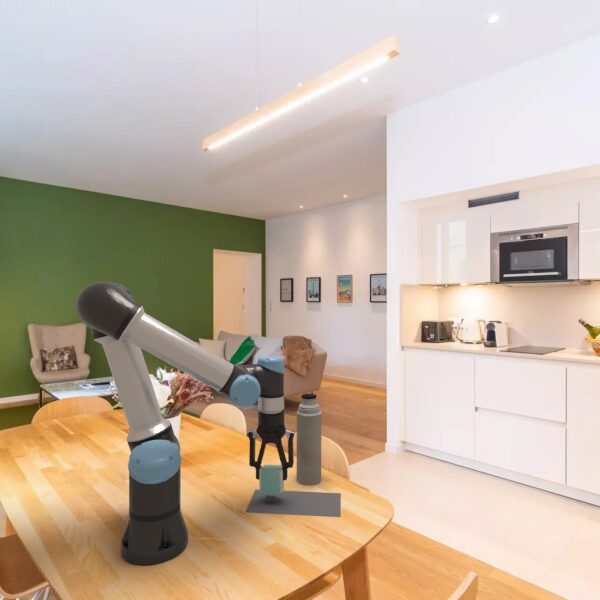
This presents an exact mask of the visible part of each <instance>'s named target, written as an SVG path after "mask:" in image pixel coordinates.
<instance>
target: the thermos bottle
mask: <svg viewBox="0 0 600 600" xmlns="http://www.w3.org/2000/svg"><path fill="white" fill-rule="evenodd" d="M320 408H321V407H320V404H318V403H317V394H315V393H302V394H301V403H300V404H299V405H298V408H297V409H298V410H297V411H296V483H297V484H299V485H302V486H306V487H307V486H311V487H312V486H316V485H319V484H320V483H321V482H322V411H321V410H320Z"/></svg>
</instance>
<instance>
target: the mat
mask: <svg viewBox="0 0 600 600" xmlns="http://www.w3.org/2000/svg"><path fill="white" fill-rule="evenodd" d="M341 495H342V494H341V492H339V493H338V492H321V491H319V492H318V491H300V490H299V491H298V490H297V491H295V490H283V493H280V496H276V502H275V504H274V503H266V495H261V492H260V489H257V488H256V489H254V491H253V494H252V496H251V499H250V501H249V503H248V506H247V508H246V509H245V513H249V514H251V513H252V514H269V515H270V514H271V515H290V516H307V517H326V518H327V517H329V518H341V517H342V515H341V513H342V512H341V511H342V510H341V506H342V505H341V504H342V502H341V500H342V498H341Z"/></svg>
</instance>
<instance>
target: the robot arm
mask: <svg viewBox="0 0 600 600" xmlns="http://www.w3.org/2000/svg"><path fill="white" fill-rule="evenodd" d="M75 306H76V307H75V308H76V313H77V315H78V317H79V319H80V320H81V321H82V322H83V324H85V325H86V326H88V327H89V329H90V331H91V336H92V338H93V341H95V342H97V343H99V344H101V345H102V347H103V351H104V354H105V357H106V359H107V364H108V365H109V369H110V372H111V375H112V379H113V381H114V384H115V388H116V390H117V394H118V397H119V400H120V404H121V406H122V410H123V412H124V414H125V419H126V421H127V424H128V427H129V433H128V435H127V436H126V442H127V445H128V448H129V451H130V454H129V458H128V463H127V469H128V485H129V486H128V503H129V504H128V516H129V517H128V519H127V523H126V524H125V525H126V526H125V529H124V531H123V535H122V538H121V541H120V554H121V557H122V558H123V559H124V560H125V561H126V562H128V563H130V564H132V565H133V564H135V565H142V566H145V565H155V564H159V563H164V562H166V561H169V560H171V559H173V558H175V557H176V556H178V555H179V554H181V553H182V552H183V551H184V550H185V549H186V547H188V546H187V545H188V543H189V531H188V528H187V527H188V526H187V525H186V524H187V523H186V521H185V519H184V516H183V512H182V510H181V508H182V507H181V498H182V497H181V496H182V495H181V490H182V489H181V472H182V471H181V469H182V468H181V466H182V454H181V444H180V442H179V440H178V437H177V436H176V434H175V432H174V429H173V426H172V422H171V421H170V420H169V419H166V418H164V417H163V414H162V411H161V408H160V405H159V401H158V398H157V395H156V392H155V388H154V386H153V382H152V380H151V376H150V373H149V370H148V367H147V364H146V361H145V357H144V354H143V352H142V351H145V352H147V353H149V354H151V355H152V356H155V357H156V358H158V359H159V360H162V361H163V362H165V363H167V364H169V365H170V366H173V367H174V368H176V369H178V370H179V371H181V372H183V373H185V374H186V375H188V376H190V377H192V378H193V379H195V380H198V381H199V382H201V383H203V384H205V385H207V386H208V387H210V388H212V389H213V390H215V391H216V392H217V393H218V394H222V395H224V396H226V397H227V398H229V399H231V401H232V403H234V404H236V405H237V406H238V407H246V408H247V407H251V406H253V405H254V404H256V403H257V410H258V412H257V414H258V415H257V416H258V417H257V420H258V421H257V428H256V429H250V430H249V432H248V433H247V437H248V440H249V456H248V457H249V461H248V462H249V463H248V465H249V467H250V468H251V467H253V468H255V479H256V480H259V490H260V492H261V471H262V469H263V467H264V465H262V463H263V459H264V455H265V452H266V451H265V450H266V447H267V444H275V447H276V450H277V453H278V457H279V461H280V465H282V466H281V468H280V493H283V491H285V481H287V480H288V479H287V478H288V469H291V468H293V466H294V463H295V461H294V437H295V435H296V432H295V430H291V431H290V430H288V429H287V428H286V426H285V411H284V409H285V369H284V368H285V366H284V365H285V363H284V358H282V357H281V356H278V355H265V356H259V357H258V358H257V361H256V363H255V364H239V365H237V364H236V365H234V364H233V363H231V362H230V361H228V360H227V359H224V358H222V357H221V356H219V355H218V354H216V353H214V352H212V351H210V350H209V349H207V348H206V347H203V346H202V345H201V344H199V343H197V342H196V341H194V340H192V339H191V338H189V337H187V336H185V335H183V334H182V333H180V332H178V331H176V330H175V329H173V328H172V327H170V326H168V325H166V324H165V323H163V322H161V321H160V320H158V319H157V318H154V317H153V316H152V315H149V314H148V313H146V312H145V309H144V306H143V305H141V304H139V303H137V302H136V301H135V299H134V296H133V294H132V293H131V292H130V291H129V290H128V289H127V287H125V286H123V285H122V284H119V283H116V282H110V281H109V282H108V281H97V282H93V283H90V284H88V285H87V286H86V287H84V288H83V289H82V290H81V291H80V292H79V294H78V296H77V299H76V305H75ZM257 435H258V436H259V438H260V439H261V440H262V441H261V444H260V448H259V453H258V456H257V459H256V438H257ZM284 436H286V439H287V451H288V452H287V453H288V454H287V455H288V456H287V457H288V458H287V457H286V454H285V451H284V447H283V442H282V438H283V437H284ZM287 459H288V460H287Z"/></svg>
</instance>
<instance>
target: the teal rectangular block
mask: <svg viewBox="0 0 600 600" xmlns="http://www.w3.org/2000/svg"><path fill="white" fill-rule="evenodd" d="M263 466H264V467H263V469H262V471H261V495H274V496H280V468H281V466H282V465H281V464H264V465H263Z"/></svg>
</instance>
